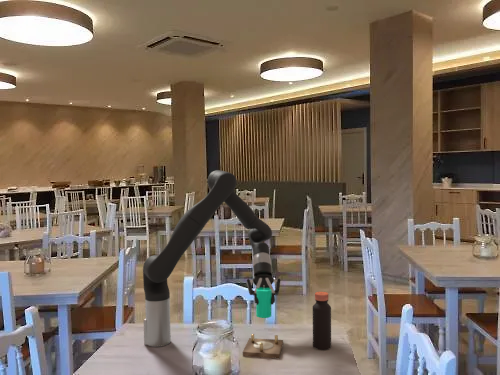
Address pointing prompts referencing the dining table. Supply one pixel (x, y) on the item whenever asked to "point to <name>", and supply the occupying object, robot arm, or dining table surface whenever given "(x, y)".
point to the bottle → (321, 322)
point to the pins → (262, 343)
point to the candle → (263, 302)
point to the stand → (268, 348)
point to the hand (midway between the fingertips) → (265, 303)
